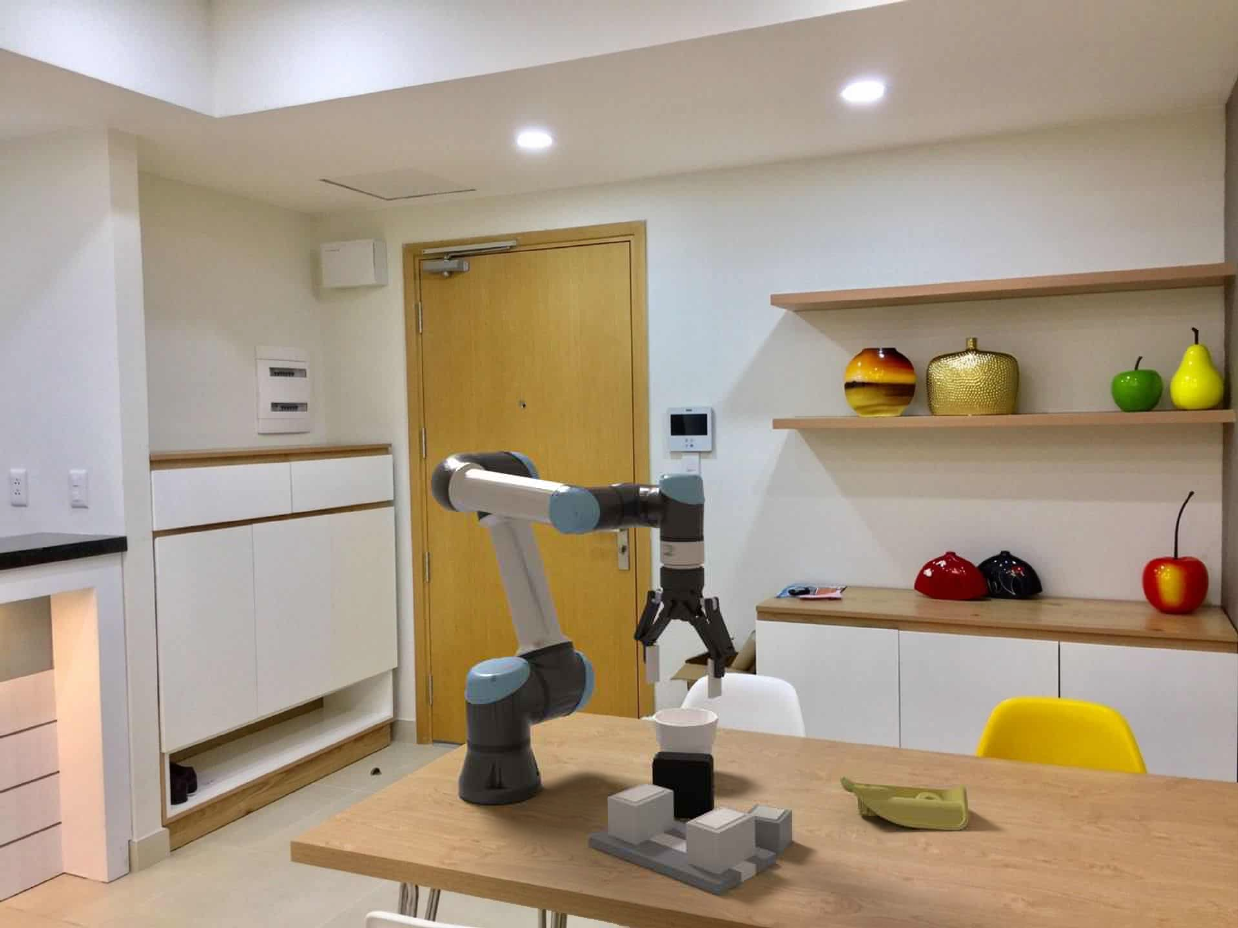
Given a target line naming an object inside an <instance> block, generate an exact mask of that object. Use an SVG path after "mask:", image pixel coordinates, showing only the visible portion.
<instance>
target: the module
mask: <svg viewBox="0 0 1238 928" xmlns="http://www.w3.org/2000/svg"><path fill="white" fill-rule="evenodd" d="M746 813H749V814H752V815H755V846H756V847H759V848H762V849H765V850H768V851H771V852H774V853H776V855H778V856H780V855H782V853H783V852H784V850H785V849H786V848H788V846H789V845H790V844H791V843H792V841H793V810H792V809H787V808H781V807H775V806H770V805H769V806H768V805H763V804H759V803H758V804H757V803H756V804H755V805H753V807H751V809H749V810H748V811H746Z"/></svg>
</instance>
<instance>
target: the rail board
mask: <svg viewBox="0 0 1238 928" xmlns="http://www.w3.org/2000/svg"><path fill="white" fill-rule="evenodd" d="M607 826H608V827H607V828H604V829H602V830H599V831H597V832H595V833H593V834H590V835H589V836H588V837H587V838H588V840H587V843H588V847H590V848H593V849H597V850H599V851H601V852H604V853H607V854H610V855H611V856H615V857H618V858H620V859H623V860H626V861H628V862H631V863H633V864H636V865H639V866H641V867H643V868H646V869H649V870H652V871H654V872H657V873H659V874H663V875H664V876H668V877H671V878H673V879H676V880H678V881H681V882H684V883H686V884H689V885H691V886H693V887H697V888H698V889H699V888H700V889H701V890H705V891H707V892H709V893H712V894H715V895H717V896H718V895H719V896H720V895H722V894H724V893H726V892H727V891H729V890H731V889H732V888H735V887H736V886H738V885H739V884H741V883H743V882H745V881H747V880H748V879H750V878H751V877H754V876H755V875H757V874H759V873H761V872H762V871H763V872H764V870H767V869H768V868H769V867H771V866H774V865H776V864H777V854H776V853H774V852H771V851H768V850H765V849H762V848H759V847H756V846H755V815H752V814H749V813H747V811H746V812H745V811H742V810H739V809H735V808H732V807H729V806H725V805H721V806H719V807H717V808H715V809H713V810H712V811H710V812H708V813H706V814H704V815H702V816H699V817H697V818H695V819H690V820H689V821H687V822H682V821H679V820H677V819H675V818H674V804H673V790H669V789H666V788H663V787H659V786H656V785H653V784H652V783H649V782H642V783H640V784H638V785H636V786H632V787H630V788H628V789H625V790H623V791H621V792H618V793H615V794H613V795H611V796H608V797H607Z"/></svg>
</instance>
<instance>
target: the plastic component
mask: <svg viewBox="0 0 1238 928" xmlns="http://www.w3.org/2000/svg"><path fill="white" fill-rule="evenodd" d="M839 779H840V785H841V786H842V789H844V791H845V792H849V793H852V794H854V795H855V797H856V798H857V815H858V816H865V817H866V816H869V817H870V816H871V817H877V816H879V817H881V818H883V820H886V821H889V822H890V823H893V824H897V825H898V826H903V827H906V828H907V827H908V828H913V829H915V828H916V829H926V830H927V829H928V830H939V831H940V830H942V831H957V832H958V831H960V830H962V829H963V828H965V827H966V826H967V825H968V823H969V820H970V811H969V802H968V793H967V788H966V786H965V784H964V785H963V784H962V785H958V786H955V787H953V788H949V789H939V788H937V789H936V788H924V787H913V786H912V787H911V786H898V785H882V784H875V783H874V784H872V783H859V782H853V781H852V779H851V778H850V776H842V777H841V778H839Z"/></svg>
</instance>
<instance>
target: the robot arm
mask: <svg viewBox="0 0 1238 928" xmlns="http://www.w3.org/2000/svg"><path fill="white" fill-rule="evenodd" d="M430 478H431V479H430V490H431V493H432V496H433V499H434V500H435V501H436V503H438V505H440V506H441V507H442V508H443V509H445V510H448V511H450V512H454V513H460V514H466V515H467V514H474V513H476V516H477V521H478V523H479V525H480V526H481V527H483V528H485V529H487V531H488V532H489V535H490V539H491V543H492V546H493V550H494V554H495V558H496V561H497V566H498V569H499V573H500V576H501V580H502V585H503V588H504V592H505V596H506V600H507V603H508V607H509V609H510V615H511V618H512V623H513V626H514V630H515V633H516V636H517V637H516V639H517V642H518V645H519V647H518V649H517V651H516V653H515V654H514V656H502V657H501V658H497V657H495V658H491V659H488V660H485V661H482V662H480V663H477V664H476V665H474V666H472V667H471V668H470V669H469V671H468V672H467V675H466V678H465V690H464V699H465V705H466V706H465V709H466V711H465V712H466V713H465V715H466V753H465V757H464V761H463V765H462V768H461V772H460V775H459V777H458V779H457V780H458V782H457V785H458V786H457V787H458V789H457V790H458V796H459V797H460V798H462V799H463V800H465V801H468V802H471V803H476V804H482V805H504V804H512V803H517V802H522V801H524V800H527V799H531V798H533V797H534V796H535V795H537V794H538V793H540V792H541V789H542V775H541V774H542V773H541V771H540V770H539V767H538V764H537V760H536V757H535V755H534V752H533V750H532V744H531V743H532V742H531V741H532V739H531V736H532V735H531V733H532V732H531V727H532V726H535V725H538V724H542V723H545V722H548V721H552V720H555V719H559V718H565V717H567V716H570V715H572V714H573V713H576V712H580V711H582V710H583V709H584V708H585V707H586V706H587V705H588V703H589V702H590V700H591V698H592V695H593V694H594V690H595V683H596V681H595V680H596V679H595V678H596V677H595V671H594V666H593V665H592V663H591V661H590V659H589V658H588V657H586V654H584V653H583V652H581V651H578V650H575V646H574V643H573V640H572V639H571V638H569V637H568V636H566V635H564V634H563V631H562V629H561V625H560V621H559V619H558V614H557V611H556V606H555V604H554V599H553V595H552V592H551V589H550V586H549V582H548V579H547V574H546V570H545V567H544V563H543V559H542V557H541V553H540V548H539V545H538V541H537V538H536V535H535V532H534V527H533V524H532V522H533V523H537V524H543V525H547V526H552V527H553V528H554V529H556V530H557V532H558V533H560V534H563V535H579V536H580V535H581V536H582V535H584V534H589V533H594V532H595V533H596V532H603V531H612V530H621V529H623V530H624V529H631V528H649V529H651V528H653V529H659V562H660V564H662V566H661V567H660V568H659V586H660V588H661V589H662V590H661V589H660V588H656V589H651V590H647V594H646V602H645V603H646V604H645V606H644V607H643V608H644V609H643V611H642V614H641V616H640V619H639V622H638V624H637V627H636V629H635V630H634V631H635V632H634V634H633V639H634V641H638V642H640V643H641V646H642V651H643V652H642V653H643V654H642V655H643V657H642V658H643V659H642V660H643V663H644V664H645V684H646V685H652V684H656V683H660V681H661V680H660V679H661V677H660V644H657V643H658V639H659V638H660V636H661V635H662V633H664V631H665V630H666V628H667V626H668V625H669V624H670V623H671V621H672V620H673V621H677V620H678V621H681V622H683V623H685V622H688V624H689V625H690V626H692V627H693V628H694V630H695V631H696V633H697V635H698V636H699V638H700V640H701V641H702V643H703V644H704V646H705V647H706V648H705V649H707V651H708V653H709V655H710V656H711V657H710V658H707V699H711V700H712V699H715V698H718V697H722V695H723V694H722V693H723V691H722V690H723V689H722V687H723V686H722V678H724V677H725V675H726V673H725V672H726V671H725V670H726V662H725V661H726V658H727V657H729V656H734V655H735V654H736V649H735V646H734V643H733V641H732V638H731V636H730V633H729V630H728V628H727V625H726V623H725V620H724V618H723V617H724V616H723V615H722V613H721V607H720V600H719V597H718V596H712V597H704V595H703V590H704V587H705V568H704V566H703V565H702V564H704V563H705V562H706V561H705V560H706V559H705V534H704V533H705V531H704V525H705V524H704V523H705V502H706V498H705V492H704V489H705V488H704V480H703V477H701V476H700V475H699V474H697V473H665V474H661V476H660V477H659V480H658V481H659V482H658V484H646V483H645V484H643V483H635V482H622V483H615V484H612V485H606V486H604V485H603V486H581V485H580V486H579V485H575V484H569V483H563V482H555V481H550V480H545V479H540V475H539V472H538V469H537V467H536V466H535V464H534V462H533V461H532V460H531V459H530V458H529V457H527V455H524V454H523V453H521V452H515V451H507V450H498V451H491V452H489V451H486V452H485V451H484V452H482V451H481V452H460V453H454V454H451V455H449V456H447V457H445V458H443V459H442V460H440V461H439V463H438V464H437V466H435V468H434V470H433V472H432V473H431V477H430ZM661 603H662V605H663V608H662V609H661V610H660V612H659V613H658V611H659V609H660V607H661ZM657 614H658V615H657ZM656 617H657V618H656ZM655 619H656V620H655Z"/></svg>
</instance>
